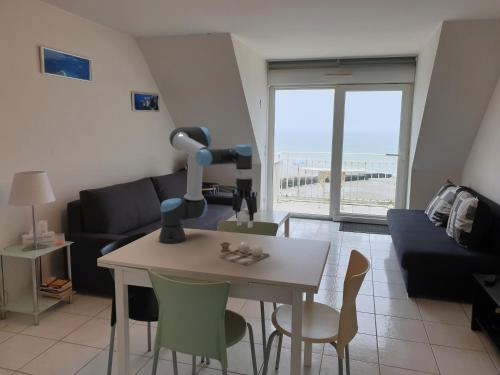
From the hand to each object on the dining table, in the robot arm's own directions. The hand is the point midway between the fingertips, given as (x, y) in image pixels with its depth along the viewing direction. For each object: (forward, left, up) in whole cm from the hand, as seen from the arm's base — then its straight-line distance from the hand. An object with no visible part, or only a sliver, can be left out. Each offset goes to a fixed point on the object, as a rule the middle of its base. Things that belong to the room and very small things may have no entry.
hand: (244, 226), depth 189 cm
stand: (-18, +5, -18) cm, 25 cm away
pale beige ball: (-8, +8, -17) cm, 21 cm away
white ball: (0, 0, +2) cm, 2 cm away
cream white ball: (+1, +8, -17) cm, 19 cm away
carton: (-4, +4, -18) cm, 18 cm away
